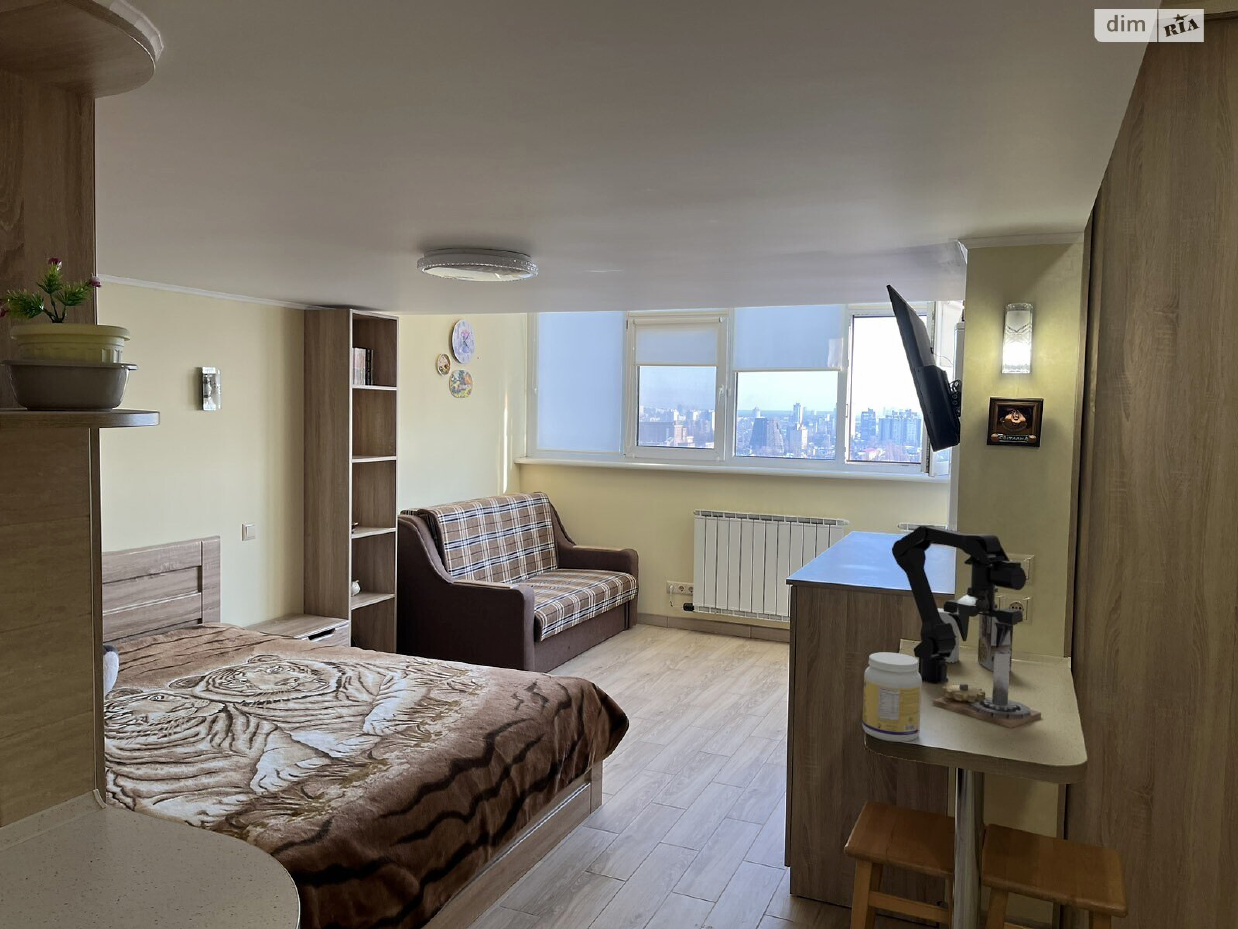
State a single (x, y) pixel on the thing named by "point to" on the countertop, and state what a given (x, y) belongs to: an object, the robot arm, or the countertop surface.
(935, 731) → the countertop surface
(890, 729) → the supplement tub
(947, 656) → the robot arm
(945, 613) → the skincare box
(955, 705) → the gear board
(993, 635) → the coffee box
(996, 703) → the gear
